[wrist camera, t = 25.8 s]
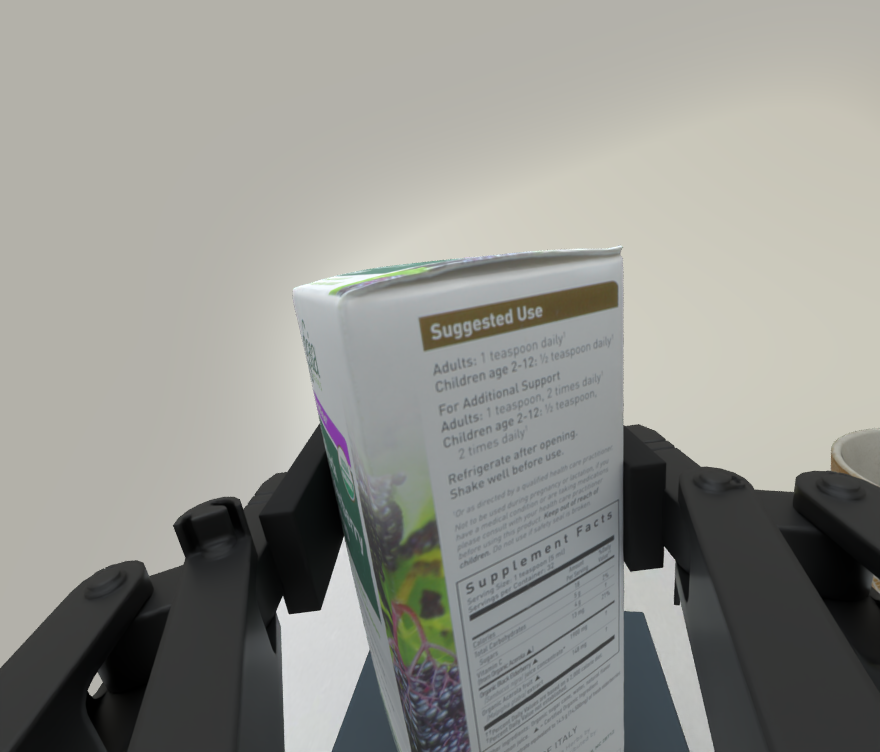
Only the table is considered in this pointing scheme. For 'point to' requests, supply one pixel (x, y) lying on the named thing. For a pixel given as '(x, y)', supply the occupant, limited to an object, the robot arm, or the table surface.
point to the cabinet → (645, 703)
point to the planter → (859, 460)
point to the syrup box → (481, 491)
